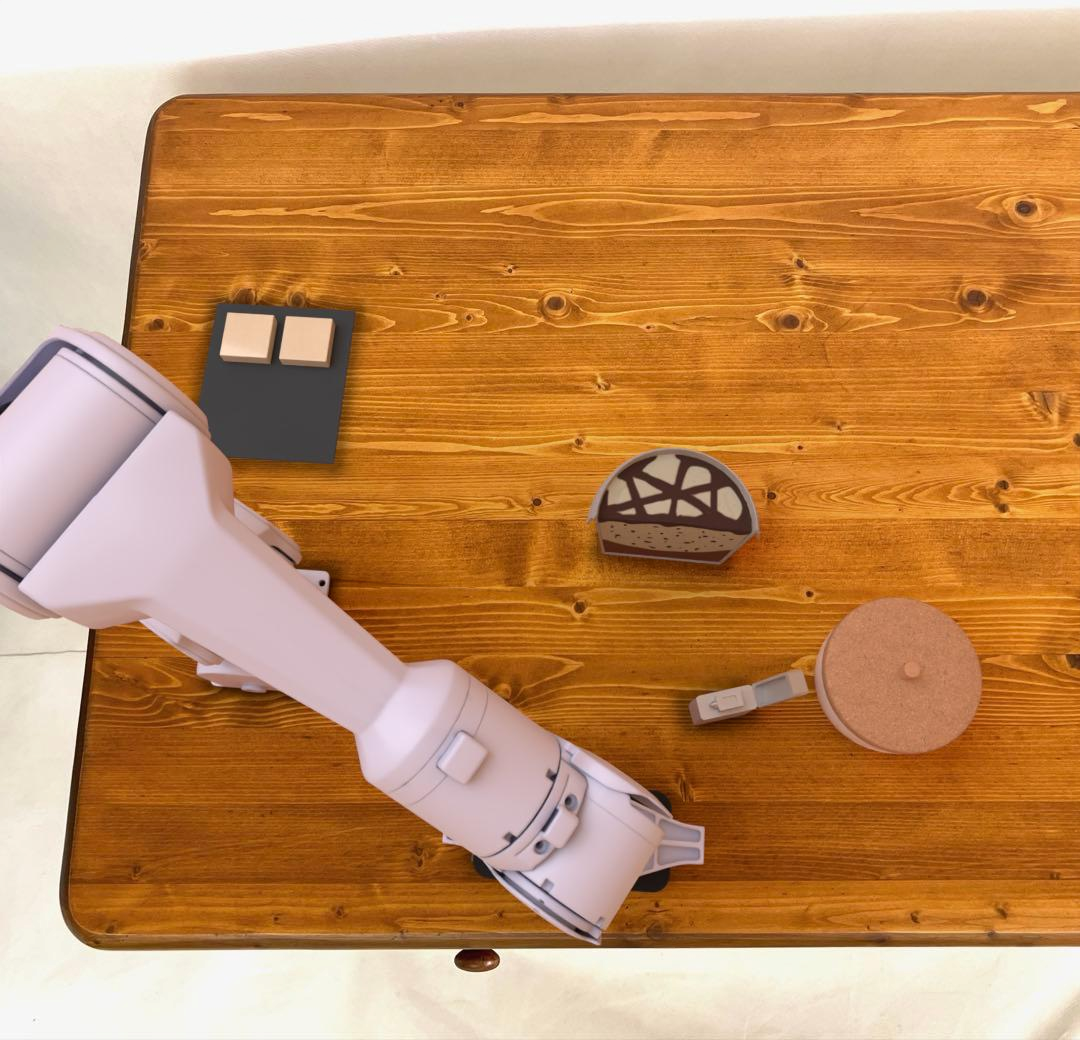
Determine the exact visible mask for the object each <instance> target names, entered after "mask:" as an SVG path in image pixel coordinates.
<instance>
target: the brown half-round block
mask: <svg viewBox="0 0 1080 1040" xmlns="http://www.w3.org/2000/svg"><path fill="white" fill-rule="evenodd" d="M589 506H590V507H589V509H588V513H587V519H586V524H588V525H589V524H590V523H591V522H592V521H593V520H594V522H595V527H596V532H597V535H598V536H597V537H598V541H599V546H600V550H601V554H602V555H610V556H621V557H632V558H643V559H652V560H663V561H664V560H665V561H674V562H683V563H684V562H686V563H696V564H706V565H717V566H718V565H719V566H720V565H721V566H722V564H723V563H725V562H726V561H727V560H728V559H729V558H730V557H731V556H732V555H734V553H736V551H738V550H739V549H740V548H741V547H742V546H743V545H745V544H746V543H747V542H748V541H749V540H750V539H751V538H752V537H754V536H755V534H756V539H757V540H760V539H761V532H760V520H759V515H758V510H757V506H756V504H755V502H754V498H753V496H752V495H751V493H750V490H749V489H748V488H747V485H746V484H745V483H744V482H743V480H742V479H741V478H740V477H739V475H737V473H735V472H734V471H733V470H732V469H731V468H730V467H729V466H728V465H726V464H725V463H723V462H722V461H720V460H719V459H717V458H715V457H713V456H711V455H709V454H707V453H704V452H701V451H699V450H695V449H690V448H685V447H668V446H667V447H662V448H653V449H650V450H647V451H643V452H640V453H638V454H636V455H635V456H632V457H630V458H628V459H626V460H625V461H624V462H623V463H621V464H620V465H618V466H617V467H616V468H615V469H614V470H613V471H612V472H611V473H610V474H609V475H608V476H607V477H606V478H605V479H604V481H603V482H602V483H601V485H600V486H599V487H598V489H597V491H596V493H595V494H594V496H593V497H592V501H591V503H590V505H589Z"/></svg>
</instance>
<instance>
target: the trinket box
mask: <svg viewBox="0 0 1080 1040" xmlns="http://www.w3.org/2000/svg"><path fill="white" fill-rule="evenodd" d="M813 677H814V679H813V680H814V688H815V693H816V697H817V700H818V703H819V705H820V707H821V710H822V711H823V713H824V714H825V717H826V718H827V719H828V721H829V722H830V723H831V724H832V726H833V727H834V728H835V729H836V730H837V731H838V732H839V733H841V734H842V735H843V736H844V737H846V738H847V739H848V740H850V741H852V742H853V743H855V744H857V745H859V746H861V747H864V748H865V749H868V750H872V751H875V752H879V753H882V754H883V753H884V754H891V755H892V754H893V755H919V754H920V755H921V754H924V753H929V752H933V751H936V750H938V749H941V748H943V747H946V746H948V745H949V744H951V743H952V742H954V741H955V740H956V739H958V738H959V737H960V736H961V735H962V734H963V733H964V732H965V731H966V730H967V729H968V727H969V726H970V725H971V723H972V722H973V720H974V718H975V716H976V714H977V712H978V710H979V706H980V703H981V700H982V693H983V674H982V668H981V663H980V660H979V657H978V653H977V651H976V649H975V647H974V645H973V643H972V641H971V639H970V638H969V636H968V635H967V633H966V632H965V631H964V629H963V628H962V627H961V626H960V625H959V624H958V623H957V622H956V621H955V620H954V619H953V618H951V616H949V615H948V614H947V613H945V612H944V611H942V610H941V609H939V608H937V607H935V606H934V605H932V604H929V603H928V602H927V603H926V602H925V601H922V600H918V599H914V598H911V597H901V596H887V597H881V598H875V599H872V600H869V601H867V602H864V603H862V604H860V605H858V606H857V607H856V608H854V609H852V610H851V611H849V612H848V613H847V614H846V615H844V616H843V617H842V618H841V619H840V620H839V622H838V623H837V624H836V625H835V626H834V627H833V628H832V629H831V630H830V632H829V633H828V634H827V635H826V637H825V639H824V641H822V644H821V646H820V648H819V650H818V653H817V655H816V661H815V666H814V676H813Z"/></svg>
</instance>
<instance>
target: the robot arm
mask: <svg viewBox="0 0 1080 1040" xmlns="http://www.w3.org/2000/svg"><path fill="white" fill-rule="evenodd" d="M208 429H209V428H208V421H207V417H206V416H205V414H204V413H203V412H202V411H201V409H200V408H199V407H198V404H196V403H195V402H194V401H193V400H192V398H190V397H189V396H188V395H186V394H185V393H184V392H183V391H182V390H181V389H180V388H178V387H177V386H176V385H175V384H174V383H173V382H171V381H170V380H169V379H168V378H166V376H164V375H163V374H161V372H159V371H158V370H156V369H155V368H154V367H152V366H151V365H150V364H149V363H147V362H146V361H145V360H144V359H142V358H140V356H138V355H137V354H135V353H134V352H132V351H131V350H130V349H128V348H127V347H125V346H124V345H122V344H121V343H119V342H117V341H116V340H114V339H113V338H111V337H109V336H107V335H106V334H104V333H101V332H99V331H91V330H88V329H85V328H81V327H75V328H74V327H73V328H71V327H69V326H65V325H63V324H59V325H57V326H56V327H55V328H54V329H53V330H52V331H51V332H50V334H49V335H48V336H47V337H45V339H44V340H43V341H42V342H41V343H40V345H38V347H37V348H36V349H35V350H34V351H33V352H32V353H31V355H30V356H29V357H28V359H26V360H25V362H24V363H23V364H22V365H21V366H20V367H19V368H18V369H17V370H16V372H15V373H14V374H13V375H12V376H11V377H10V378H9V379H8V380H7V382H6V383H5V384H4V385H3V386H2V387H1V388H0V605H1V606H3V607H5V608H6V609H8V610H10V611H12V612H14V613H16V614H19V615H21V616H23V617H25V618H28V619H31V620H34V621H40V620H46V619H47V620H48V619H56V620H57V619H62V618H64V619H66V620H67V621H71V622H73V623H75V624H78V625H80V626H82V627H85V628H87V629H91V630H103V629H107V628H111V627H115V626H120V625H125V624H129V623H135V622H139V623H141V624H142V625H143V626H145V627H146V628H147V629H148V630H150V631H151V632H153V633H154V634H155V635H157V636H158V637H160V638H161V640H163V641H165V642H166V643H167V644H169V645H170V646H172V647H174V648H175V649H176V650H178V651H180V652H181V653H182V654H184V655H186V656H187V657H188V658H190V659H192V660H194V661H195V662H197V664H196V665H197V666H196V676H197V677H199V678H201V679H203V680H207V681H209V682H210V683H211V685H213V686H214V687H221V688H234V689H235V688H236V689H241V690H242V691H245V692H249V693H250V692H251V693H261V694H262V693H263V694H264V693H267V691H274V692H281V693H284V694H285V695H286V696H288V697H290V698H292V699H294V700H295V701H297V702H299V703H301V704H302V705H304V706H306V707H308V708H310V709H311V710H313V711H314V712H316V713H318V714H320V715H321V716H323V717H325V718H327V719H329V720H331V721H332V722H334V723H336V724H338V725H339V726H340V727H342V728H344V729H346V730H348V731H349V732H352V734H353V736H354V741H355V744H356V750H357V754H358V759H359V764H360V769H361V772H362V776H363V777H364V779H365V781H366V782H368V783H369V784H370V785H372V786H374V787H375V788H376V789H378V790H379V791H381V793H383V794H384V795H386V796H388V797H389V798H390V799H392V800H394V801H395V802H396V803H397V804H399V805H401V806H402V807H404V808H406V809H407V810H408V811H409V812H411V813H412V814H414V815H415V816H417V817H419V818H420V819H421V820H423V821H425V822H426V823H427V824H429V825H430V826H432V827H433V828H434V829H436V830H437V831H439V832H440V833H442V839H441V840H442V841H441V842H442V843H443V844H449V845H456V846H460V847H462V848H464V849H466V850H467V851H469V853H471V854H472V853H473V862H472V866H473V869H474V871H475V872H476V873H477V874H478V875H479V876H480V877H482V878H484V879H488V880H489V879H490V880H497V881H498V882H499V883H500V885H501V886H502V887H504V889H506V890H507V891H508V892H509V893H510V894H511V895H512V896H514V897H515V898H516V899H518V901H520V902H521V903H522V904H524V905H525V906H526V907H528V908H529V909H530V910H532V911H533V912H534V913H535V914H537V915H538V916H540V917H541V918H542V919H543V920H545V921H546V922H548V923H550V924H551V925H553V926H554V927H556V928H558V930H560V931H562V932H564V933H565V934H567V935H569V936H571V937H574V938H576V939H578V940H581V941H585V942H588V943H591V944H593V945H596V946H601V945H602V933H603V931H607V929H608V928H609V926H610V924H611V922H612V921H613V919H614V918H615V916H616V914H617V913H618V911H619V910H620V908H621V906H622V905H623V904H624V902H625V900H626V898H627V897H628V895H629V893H630V892H640V893H654V894H655V893H659V892H661V891H662V890H664V889H665V888H666V887H667V885H668V884H669V881H670V877H671V868H672V867H677V866H682V865H683V866H684V865H704V863H705V834H706V832H705V831H706V830H705V828H706V827H705V826H702V825H695V824H689V823H685V822H681V821H679V820H676V819H674V815H672V813H673V812H672V811H673V805H672V803H671V800H670V799H669V797H668V796H667V795H666V794H665V793H664V792H662V791H659V790H653V789H646V788H645V787H644V786H643V785H641V784H640V783H639V782H637V781H636V780H634V779H633V778H632V777H631V776H629V775H628V774H626V773H624V772H623V771H621V770H620V769H619V768H617V767H616V766H615V765H613V764H611V763H610V762H608V761H607V760H605V759H603V758H602V757H601V756H598V755H597V754H596V753H593V752H591V751H590V750H588V749H585V748H583V747H580V746H579V745H575V744H574V743H572V742H570V741H569V740H567V739H565V738H563V737H561V736H559V735H557V734H555V733H553V732H551V731H549V730H547V729H545V728H543V727H542V726H540V724H538V723H536V722H535V721H534V720H532V719H531V718H530V717H528V716H527V715H526V714H524V713H523V712H522V711H520V710H519V709H517V708H516V707H515V706H513V705H512V704H511V703H510V702H508V701H507V700H505V699H504V698H503V697H502V696H500V695H499V694H498V693H496V692H495V691H493V690H492V689H490V687H488V686H486V685H485V684H484V683H483V682H482V681H480V680H479V679H478V678H476V677H475V676H474V675H472V674H471V673H469V672H468V671H466V670H465V669H464V668H462V667H461V666H460V665H458V664H457V663H456V662H454V661H453V660H450V659H443V658H439V659H431V660H430V659H429V660H422V661H413V662H403V661H402V660H401V659H400V658H398V657H397V656H396V655H395V654H394V653H392V652H391V650H389V649H388V648H387V647H386V646H385V645H383V644H382V643H381V642H380V641H379V640H378V639H376V638H375V637H374V636H373V635H372V634H371V633H370V632H369V631H367V630H366V629H365V628H364V627H363V626H361V624H359V623H358V622H357V621H356V620H355V619H353V618H352V617H351V616H350V615H349V614H348V613H347V612H345V611H344V610H343V609H342V608H341V607H340V606H339V605H337V604H336V603H335V602H334V601H333V600H332V599H331V598H330V597H329V591H330V583H331V576H330V575H331V574H330V573H329V572H328V571H325V570H316V569H300V568H296V567H295V565H299V564H300V562H301V561H302V559H303V556H302V555H301V548H300V547H301V546H299V544H298V543H297V542H296V541H295V540H293V538H291V537H290V536H289V535H287V534H286V533H285V531H284V532H283V531H282V530H281V529H280V528H278V527H277V526H276V525H275V524H274V523H272V522H271V521H269V520H268V519H266V518H265V517H264V516H262V515H261V514H260V513H258V512H257V511H255V510H254V509H252V508H251V507H249V506H247V504H244V503H243V502H242V501H240V500H239V499H237V498H235V497H234V496H235V495H234V477H233V467H232V463H231V462H230V460H229V459H228V457H226V456H225V455H224V454H223V453H222V452H221V451H220V450H219V449H218V448H217V447H216V446H215V445H214V444H213V443H212V442H211V441H210V439H211V434H210V432H209V431H208ZM322 582H324V583H325V584H324V585H323V586H321V583H322Z"/></svg>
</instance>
